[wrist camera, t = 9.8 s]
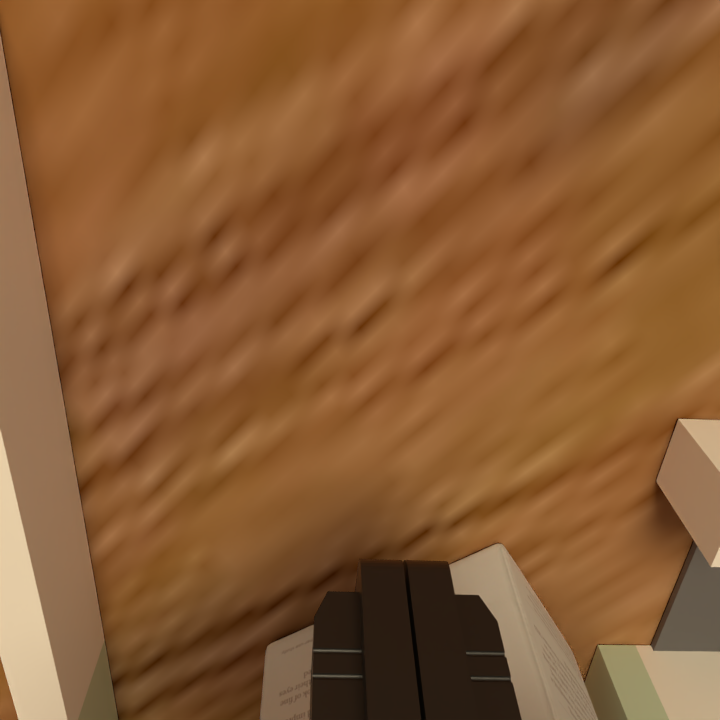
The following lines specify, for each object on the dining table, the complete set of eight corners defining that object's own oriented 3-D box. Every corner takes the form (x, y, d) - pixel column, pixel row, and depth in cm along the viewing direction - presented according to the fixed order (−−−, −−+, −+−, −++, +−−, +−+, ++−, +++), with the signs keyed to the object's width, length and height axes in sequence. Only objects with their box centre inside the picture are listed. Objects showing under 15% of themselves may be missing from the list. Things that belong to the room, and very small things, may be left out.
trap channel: (-79, -17, 12) (-192, -13, 9) (1144, 72, 14) (1340, 96, 11) (99, 806, 25) (72, 905, 22) (717, 803, 26) (760, 895, 24)
